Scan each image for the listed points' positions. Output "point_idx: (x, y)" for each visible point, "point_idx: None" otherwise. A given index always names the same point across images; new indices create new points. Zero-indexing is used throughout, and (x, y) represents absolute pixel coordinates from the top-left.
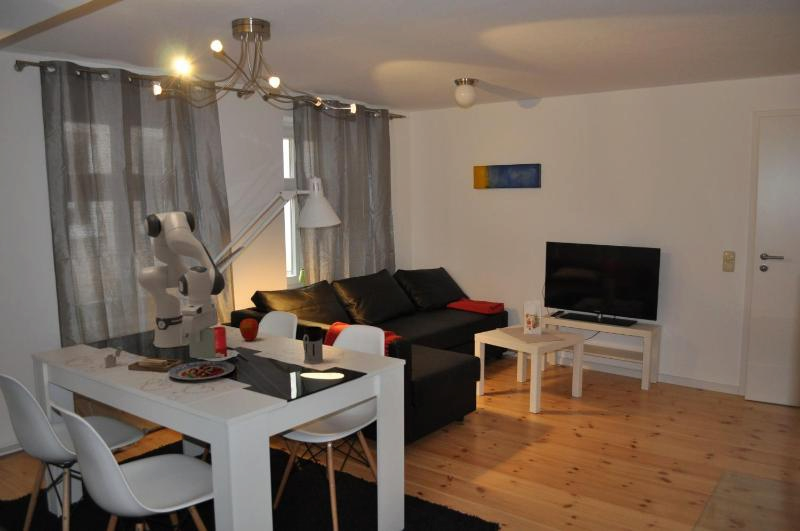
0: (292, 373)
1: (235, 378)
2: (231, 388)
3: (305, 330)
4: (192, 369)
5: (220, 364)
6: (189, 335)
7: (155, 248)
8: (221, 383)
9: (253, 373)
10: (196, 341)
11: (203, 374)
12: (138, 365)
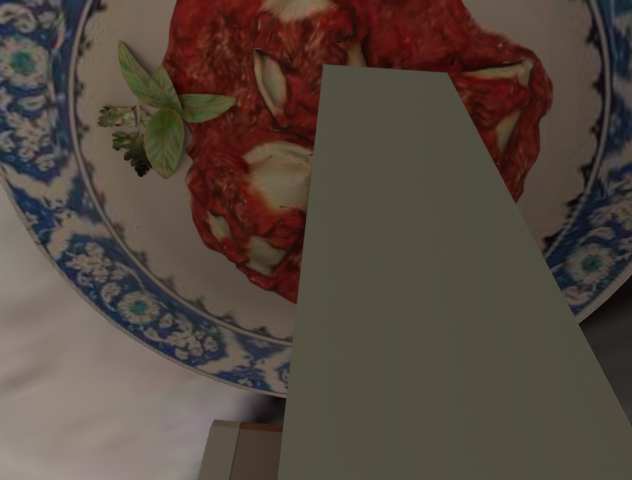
0: None
1: (275, 415)
2: (77, 457)
3: None
4: (297, 70)
5: (584, 235)
6: (295, 333)
7: None
8: (141, 382)
9: None
10: (215, 422)
11: (221, 229)
12: None
